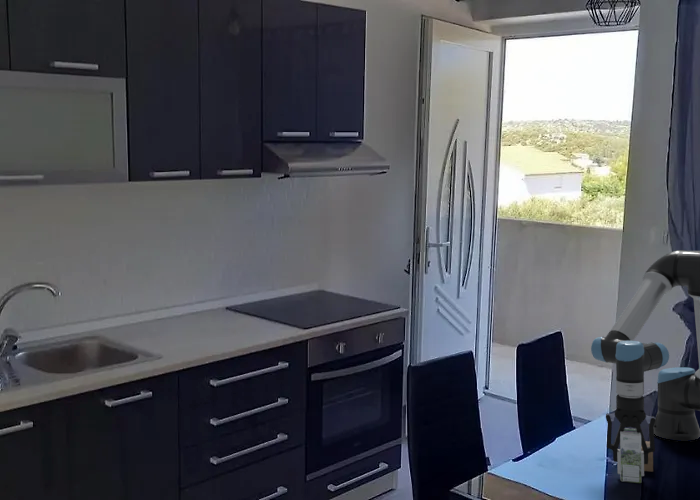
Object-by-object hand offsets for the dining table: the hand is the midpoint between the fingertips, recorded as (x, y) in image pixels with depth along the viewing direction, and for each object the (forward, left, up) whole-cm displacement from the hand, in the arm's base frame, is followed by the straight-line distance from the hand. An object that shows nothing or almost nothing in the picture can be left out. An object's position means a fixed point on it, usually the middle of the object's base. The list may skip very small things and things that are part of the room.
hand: (630, 473), depth 214 cm
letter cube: (-11, -5, -2) cm, 13 cm away
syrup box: (0, 0, -2) cm, 2 cm away
